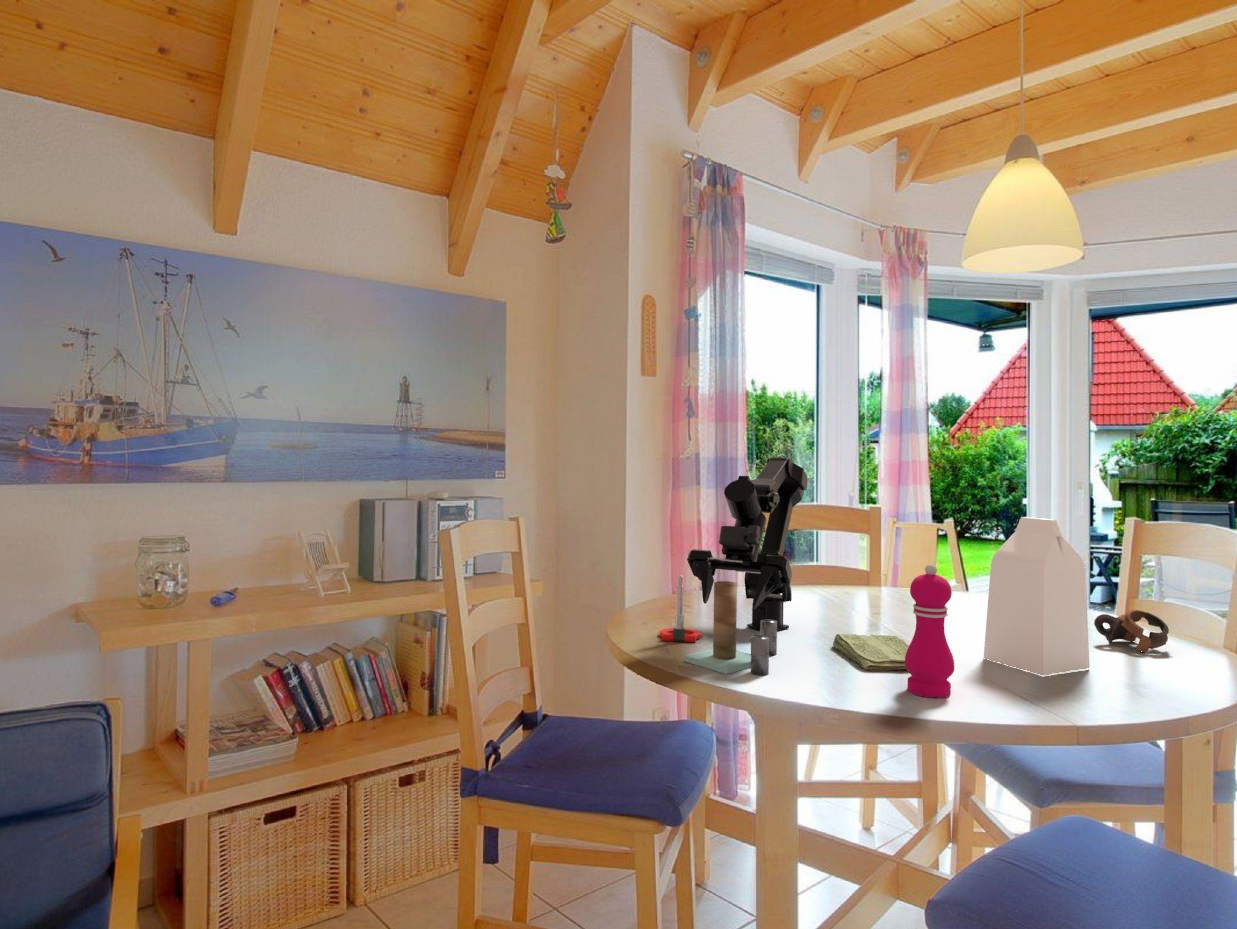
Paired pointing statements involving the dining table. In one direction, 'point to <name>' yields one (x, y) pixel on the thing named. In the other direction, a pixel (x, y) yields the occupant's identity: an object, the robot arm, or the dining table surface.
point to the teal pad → (719, 661)
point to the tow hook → (680, 623)
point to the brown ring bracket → (1133, 629)
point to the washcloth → (873, 650)
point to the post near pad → (759, 655)
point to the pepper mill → (930, 637)
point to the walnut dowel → (725, 620)
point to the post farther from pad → (770, 634)
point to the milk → (1037, 602)
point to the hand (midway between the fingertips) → (728, 604)
